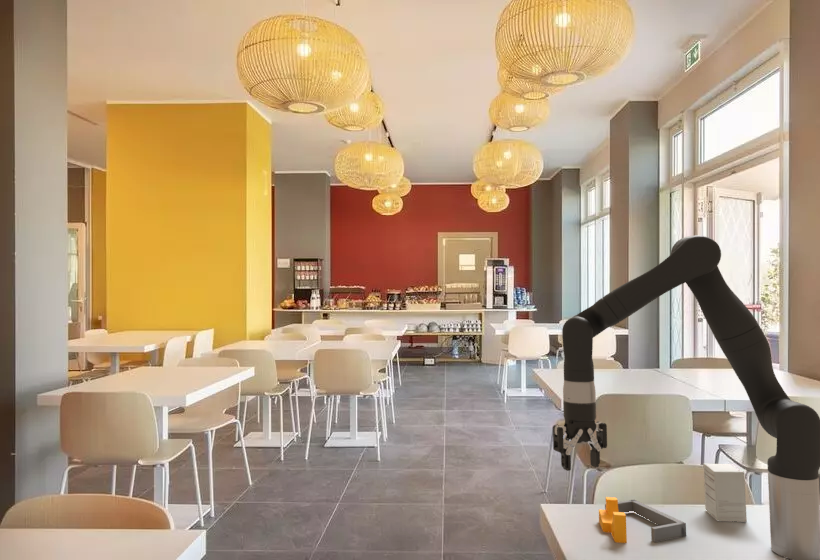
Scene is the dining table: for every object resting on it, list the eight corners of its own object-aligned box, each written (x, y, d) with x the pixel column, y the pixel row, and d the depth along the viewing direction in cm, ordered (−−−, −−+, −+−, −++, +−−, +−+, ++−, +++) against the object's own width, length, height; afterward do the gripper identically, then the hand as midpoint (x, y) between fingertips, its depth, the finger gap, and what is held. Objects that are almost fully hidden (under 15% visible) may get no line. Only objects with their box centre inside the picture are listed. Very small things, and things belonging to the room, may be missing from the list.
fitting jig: (634, 510, 145) (634, 499, 145) (686, 535, 129) (685, 523, 129) (605, 515, 141) (604, 504, 142) (654, 542, 125) (654, 529, 126)
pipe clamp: (599, 522, 138) (598, 496, 138) (617, 523, 137) (616, 497, 137) (607, 542, 126) (606, 514, 126) (626, 543, 125) (625, 515, 125)
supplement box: (734, 511, 143) (732, 463, 144) (747, 522, 136) (745, 471, 137) (704, 510, 144) (702, 462, 145) (716, 521, 137) (714, 470, 138)
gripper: (563, 403, 125) (565, 476, 124) (614, 399, 130) (616, 469, 129) (545, 398, 132) (546, 467, 131) (593, 395, 137) (595, 460, 136)
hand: (580, 468), depth 130 cm, fingers open, 7 cm apart
